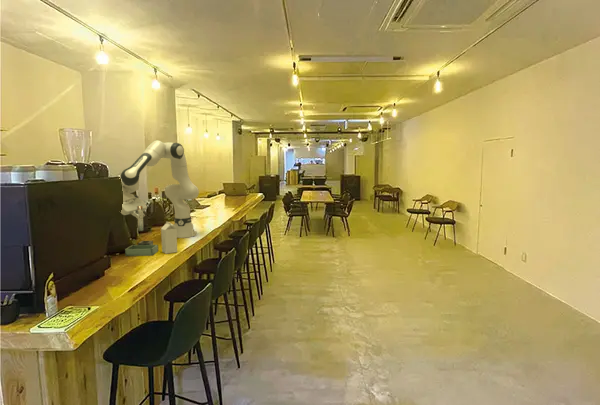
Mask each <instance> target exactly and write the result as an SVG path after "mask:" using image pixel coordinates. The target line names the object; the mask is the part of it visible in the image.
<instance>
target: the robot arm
mask: <svg viewBox="0 0 600 405" xmlns="http://www.w3.org/2000/svg"><path fill="white" fill-rule="evenodd" d="M184 152H185V149H184V146H183V145H182V143H179V142H171V141H170V142H169V141H167V142H163V141H161V140H153V141H152V142H151V143H150V144H149V145H148V146H147V147H146V148H145V149H144V150H143V152H142V153H141V154H140V156H139V157H138V158H137V159H136V160H135V161H134V162H133V163H132V164H131V165H130V166H129V167H127V168H126V169H124V170H123V171H122V172H121V173H120V178H121V180H122V191H123V204H122V210H121V212H120V213H121V215H123V216H127V215H132V216H133V217H135V218H136V219H138V218H139V217H140V215H139V214H137V206H142V208H143V212H145V211H146V210H147V208H148V206H147V204H146V203H145V201H143V199H141V197H140V195H136V194H133V193H135V192H137V190H138V189H139V186H140V184H139V183H140V182H139V181H140V174H141V172H142V171H143V170H144V169H145V168H146V166H147V167H155V166H156V165H157V164H158V163H159V161H161V159H169V160H170V167H171V176H172V178H173V179H174V180H175V181H177V182H178V183H179V184H175V183H174V184H168V185H166V187H165V188H164V194H165V197H167V199H169V201H170V202H171V203H172V205H173V209H174V220H173V221H174V223H173V225H174V226H173V227H175V228H176V231H177V239H178V238H179V239H181V238H182V239H183V238H185V239H186V238H191V237H196V236H197V230H195V229H194V225H193V223H192V216H191V207H190V206H189V205H188V204H187V203H186V202H185V200H193V199H194V200H195V199H196V198H198V196H199V195H200V190H199V188H198V186H197V185H195V184H194V183H193V182H192V180H191V179H190V176H189V172H188V164H187V162H188V161H187V158H186V154H185V153H184ZM145 216H146V215H145V214H144V213H143V218H144V217H145Z"/></svg>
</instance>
